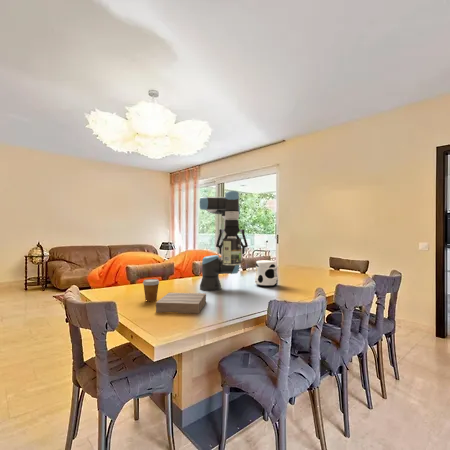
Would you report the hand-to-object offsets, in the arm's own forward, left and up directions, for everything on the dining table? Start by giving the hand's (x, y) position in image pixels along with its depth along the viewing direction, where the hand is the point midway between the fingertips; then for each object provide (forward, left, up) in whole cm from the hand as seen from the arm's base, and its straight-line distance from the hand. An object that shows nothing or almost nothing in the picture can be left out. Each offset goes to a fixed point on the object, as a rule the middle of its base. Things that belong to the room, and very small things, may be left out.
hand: (231, 260), depth 153 cm
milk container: (-59, +21, -26) cm, 68 cm away
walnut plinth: (+3, -27, -26) cm, 37 cm away
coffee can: (0, 0, -3) cm, 3 cm away
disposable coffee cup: (-8, -49, -26) cm, 56 cm away
